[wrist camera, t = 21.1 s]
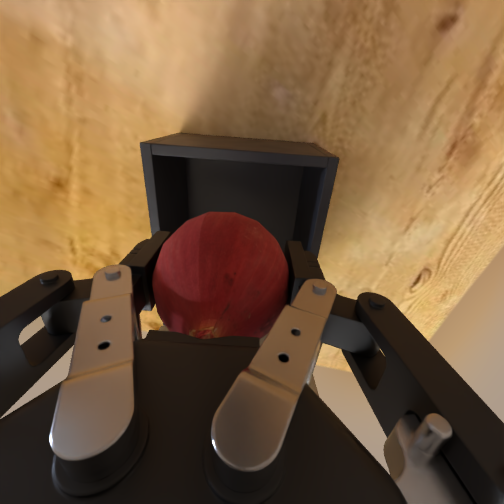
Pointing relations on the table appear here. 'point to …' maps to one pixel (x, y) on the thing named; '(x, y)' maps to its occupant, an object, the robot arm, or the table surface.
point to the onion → (221, 278)
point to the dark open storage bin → (240, 183)
